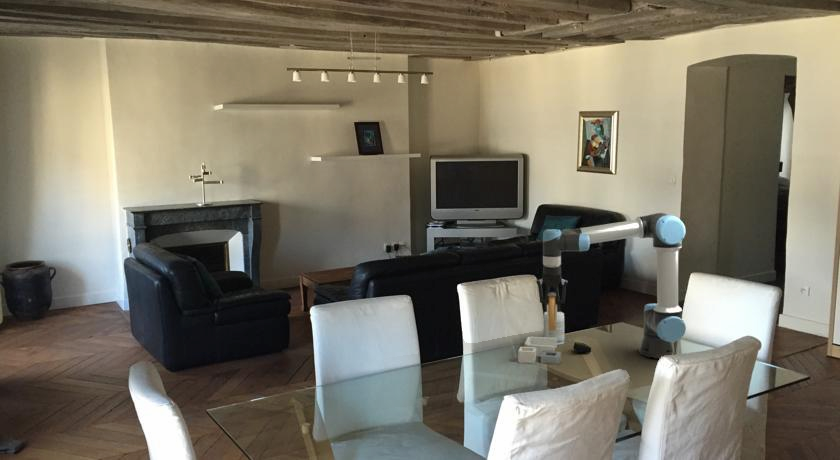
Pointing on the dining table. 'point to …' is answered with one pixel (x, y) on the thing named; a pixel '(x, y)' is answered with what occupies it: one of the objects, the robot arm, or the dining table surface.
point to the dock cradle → (541, 344)
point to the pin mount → (551, 357)
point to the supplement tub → (559, 328)
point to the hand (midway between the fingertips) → (552, 319)
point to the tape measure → (582, 347)
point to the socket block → (527, 355)
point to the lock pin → (552, 310)
